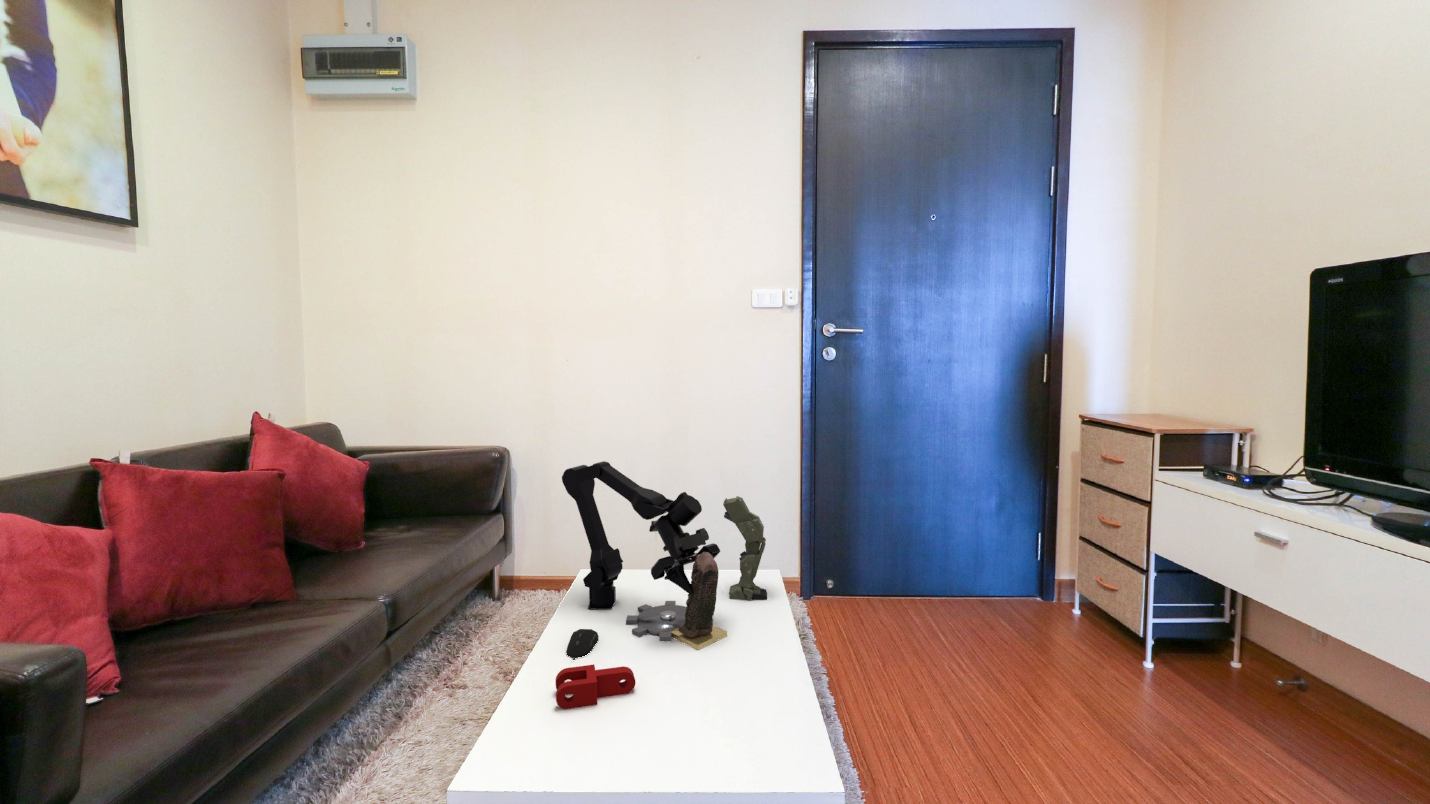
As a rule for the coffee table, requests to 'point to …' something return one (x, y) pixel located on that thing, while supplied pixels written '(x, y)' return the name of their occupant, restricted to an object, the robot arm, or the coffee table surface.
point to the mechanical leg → (747, 549)
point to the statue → (701, 597)
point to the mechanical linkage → (591, 685)
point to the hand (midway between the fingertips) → (702, 591)
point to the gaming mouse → (581, 643)
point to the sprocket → (669, 625)
